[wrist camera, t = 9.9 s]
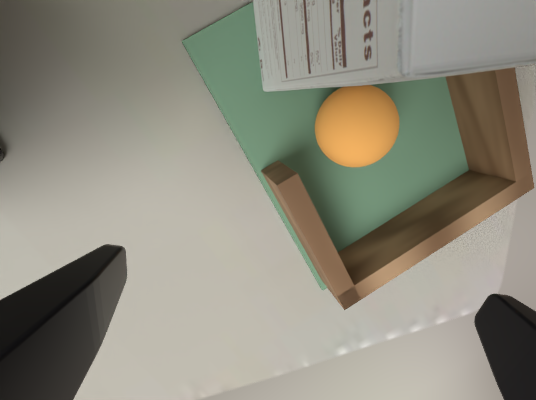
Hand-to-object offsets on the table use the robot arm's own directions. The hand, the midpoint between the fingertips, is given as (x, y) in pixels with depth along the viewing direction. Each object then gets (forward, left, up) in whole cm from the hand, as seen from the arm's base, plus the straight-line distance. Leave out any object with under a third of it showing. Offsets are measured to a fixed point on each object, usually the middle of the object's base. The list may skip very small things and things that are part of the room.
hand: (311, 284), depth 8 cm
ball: (+6, +1, -8) cm, 10 cm away
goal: (+9, -5, -12) cm, 16 cm away
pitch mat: (+8, -2, -12) cm, 15 cm away
